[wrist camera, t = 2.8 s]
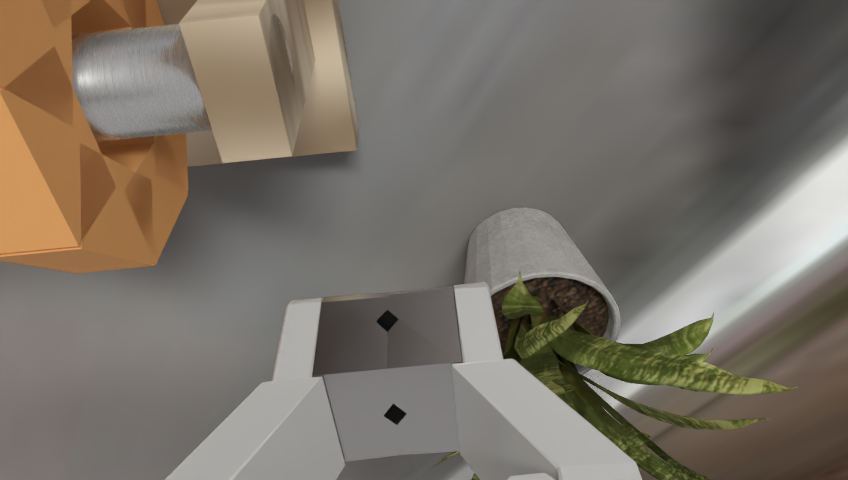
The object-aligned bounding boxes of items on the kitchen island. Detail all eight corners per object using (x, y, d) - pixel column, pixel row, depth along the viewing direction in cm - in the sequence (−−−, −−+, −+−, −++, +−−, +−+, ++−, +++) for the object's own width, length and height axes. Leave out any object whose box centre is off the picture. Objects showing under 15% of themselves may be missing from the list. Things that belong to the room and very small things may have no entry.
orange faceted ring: (33, -128, 19) (-215, -53, 11) (112, -135, 19) (-82, -68, 11) (147, 160, 25) (36, 342, 17) (206, 154, 25) (123, 333, 17)
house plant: (566, 383, 39) (658, 693, 26) (349, 333, 36) (329, 661, 23) (704, 197, 31) (934, 505, 18) (444, 110, 28) (496, 413, 15)
